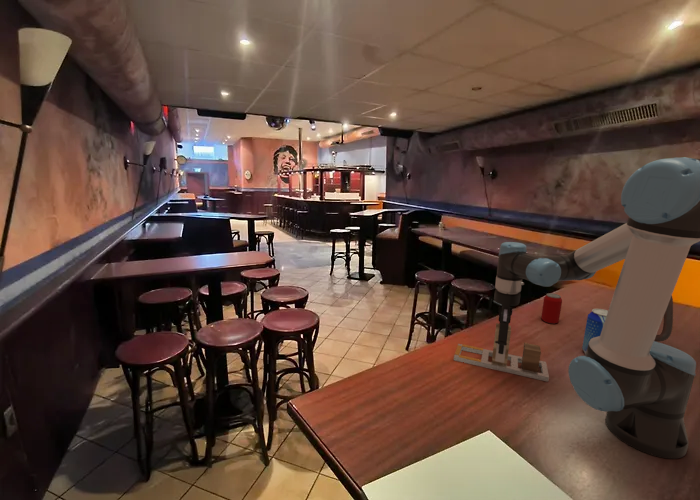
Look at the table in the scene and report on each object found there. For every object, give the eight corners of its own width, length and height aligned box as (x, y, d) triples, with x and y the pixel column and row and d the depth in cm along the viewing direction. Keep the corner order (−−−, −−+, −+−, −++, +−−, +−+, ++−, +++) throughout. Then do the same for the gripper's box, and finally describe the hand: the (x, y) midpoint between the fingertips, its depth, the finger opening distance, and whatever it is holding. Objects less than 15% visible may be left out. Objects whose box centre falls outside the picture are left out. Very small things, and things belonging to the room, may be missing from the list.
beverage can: (558, 320, 150) (562, 294, 148) (558, 325, 145) (562, 299, 142) (541, 317, 154) (545, 291, 152) (540, 322, 148) (544, 295, 146)
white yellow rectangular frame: (548, 381, 104) (549, 376, 104) (453, 360, 116) (454, 355, 115) (545, 366, 113) (546, 361, 113) (457, 347, 125) (458, 343, 124)
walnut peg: (537, 375, 108) (540, 351, 106) (521, 371, 110) (524, 348, 108) (536, 368, 112) (539, 345, 110) (521, 364, 114) (524, 342, 112)
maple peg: (506, 368, 112) (510, 331, 109) (491, 364, 113) (495, 328, 111) (506, 361, 116) (510, 325, 113) (492, 358, 117) (496, 323, 115)
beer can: (615, 362, 117) (624, 318, 113) (588, 359, 118) (595, 315, 115) (602, 350, 125) (610, 308, 121) (577, 347, 126) (584, 306, 123)
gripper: (521, 302, 99) (512, 373, 104) (520, 284, 116) (512, 346, 121) (493, 297, 102) (485, 367, 107) (496, 280, 119) (489, 341, 124)
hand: (499, 356), depth 114 cm, fingers open, 6 cm apart
